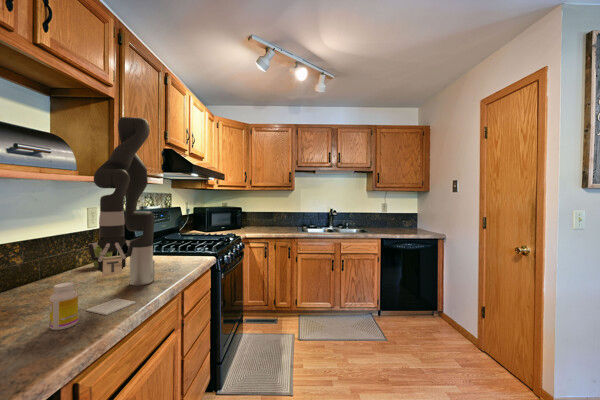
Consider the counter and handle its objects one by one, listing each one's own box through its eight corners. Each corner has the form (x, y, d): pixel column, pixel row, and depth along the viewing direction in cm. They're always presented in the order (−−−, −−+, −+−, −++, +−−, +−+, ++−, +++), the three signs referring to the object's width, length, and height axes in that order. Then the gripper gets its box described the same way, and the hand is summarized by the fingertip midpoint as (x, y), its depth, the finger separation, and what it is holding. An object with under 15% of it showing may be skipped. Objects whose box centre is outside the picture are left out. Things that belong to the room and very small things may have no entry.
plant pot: (120, 264, 157) (120, 245, 157) (103, 269, 145) (103, 249, 145) (101, 263, 158) (101, 244, 158) (83, 269, 146) (83, 248, 146)
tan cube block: (102, 272, 98) (102, 257, 97) (120, 270, 101) (120, 255, 101) (103, 276, 93) (103, 260, 93) (121, 273, 97) (121, 258, 97)
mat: (116, 299, 104) (116, 298, 104) (135, 303, 101) (135, 301, 101) (86, 310, 94) (86, 309, 94) (106, 315, 90) (106, 313, 90)
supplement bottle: (83, 320, 87) (83, 281, 86) (66, 330, 80) (66, 288, 80) (62, 320, 86) (62, 281, 86) (43, 331, 80) (43, 288, 80)
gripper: (133, 222, 104) (133, 265, 105) (86, 224, 95) (86, 271, 95) (136, 223, 99) (136, 269, 99) (86, 226, 90) (86, 276, 90)
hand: (111, 270), depth 97 cm, fingers closed on tan cube block, 5 cm apart
